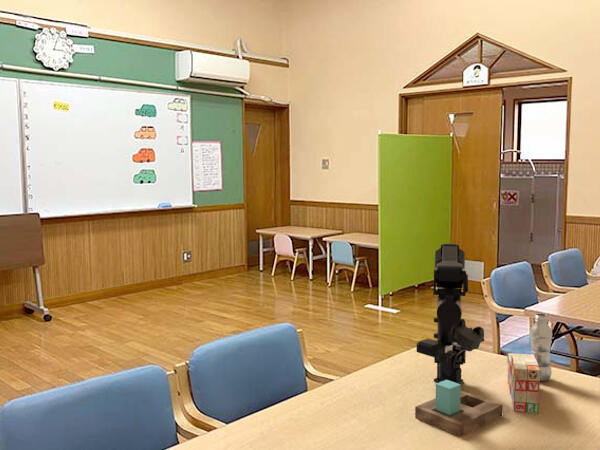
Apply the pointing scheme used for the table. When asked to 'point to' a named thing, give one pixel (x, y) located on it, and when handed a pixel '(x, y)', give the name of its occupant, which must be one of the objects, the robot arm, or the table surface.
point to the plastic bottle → (541, 345)
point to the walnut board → (461, 414)
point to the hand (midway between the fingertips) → (448, 374)
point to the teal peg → (448, 398)
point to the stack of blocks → (524, 382)
